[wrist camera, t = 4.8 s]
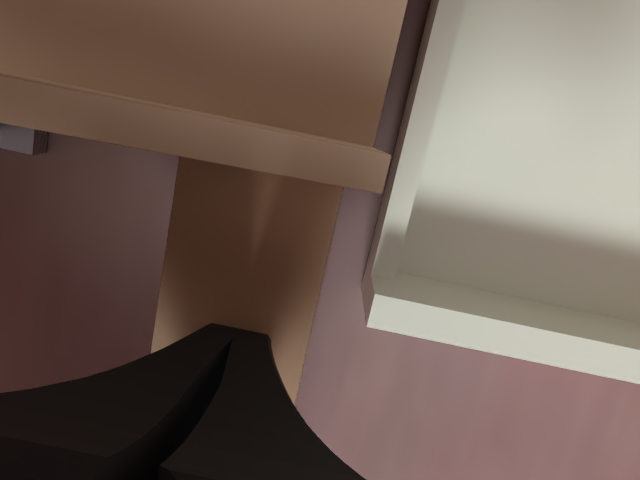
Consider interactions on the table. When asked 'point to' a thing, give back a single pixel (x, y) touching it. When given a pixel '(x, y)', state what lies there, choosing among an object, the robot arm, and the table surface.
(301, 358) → the lever
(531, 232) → the dish
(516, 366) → the table surface
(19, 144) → the pivot
